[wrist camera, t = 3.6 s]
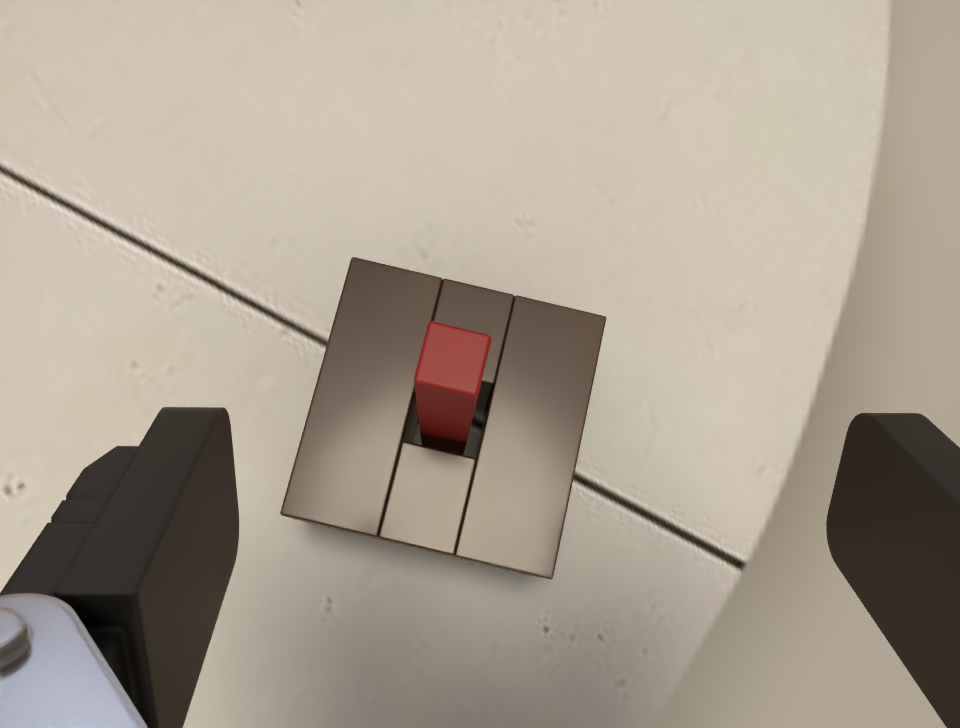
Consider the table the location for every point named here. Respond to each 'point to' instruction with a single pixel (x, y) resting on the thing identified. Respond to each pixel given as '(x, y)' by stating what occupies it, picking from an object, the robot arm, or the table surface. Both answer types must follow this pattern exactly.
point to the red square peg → (449, 384)
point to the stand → (432, 472)
